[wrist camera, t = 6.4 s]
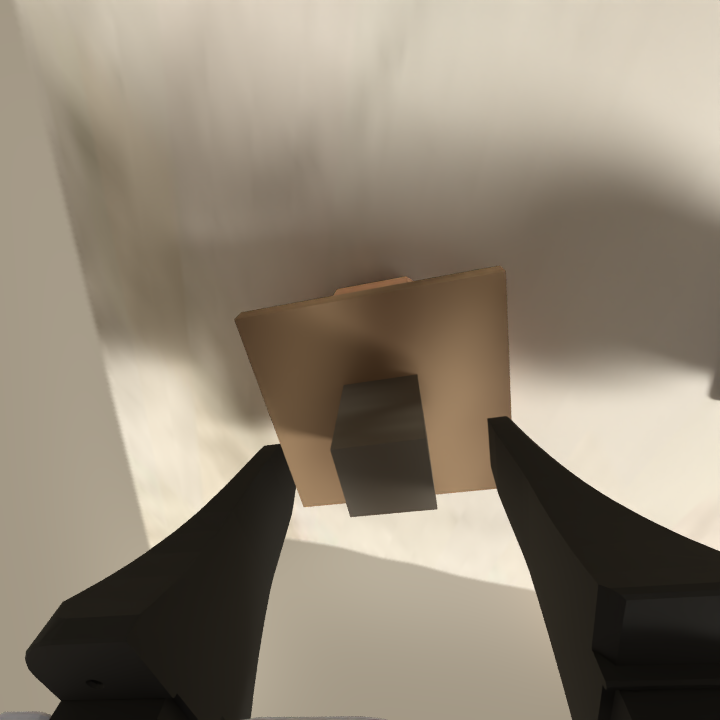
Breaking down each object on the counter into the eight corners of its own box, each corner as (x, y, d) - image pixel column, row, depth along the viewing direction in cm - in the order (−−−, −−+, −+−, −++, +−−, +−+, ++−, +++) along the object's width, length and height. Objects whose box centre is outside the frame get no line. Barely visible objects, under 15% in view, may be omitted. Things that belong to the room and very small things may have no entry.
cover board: (499, 265, 14) (549, 309, 9) (509, 474, 18) (546, 569, 14) (241, 312, 15) (184, 368, 11) (306, 494, 20) (284, 586, 15)
